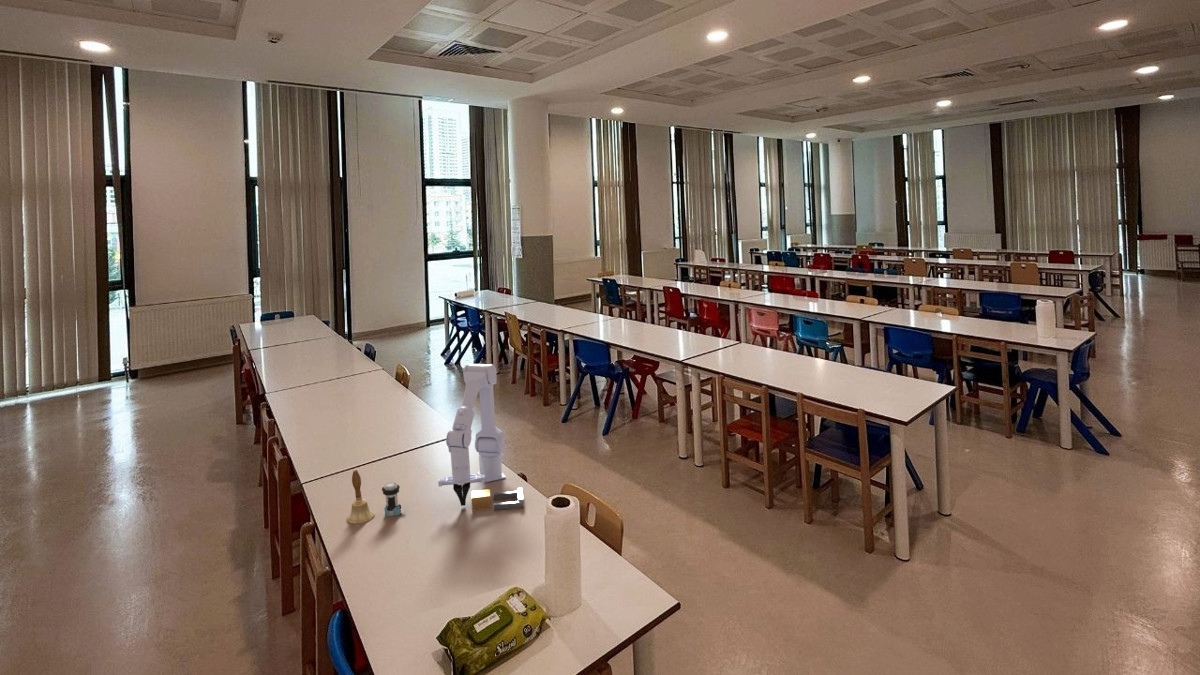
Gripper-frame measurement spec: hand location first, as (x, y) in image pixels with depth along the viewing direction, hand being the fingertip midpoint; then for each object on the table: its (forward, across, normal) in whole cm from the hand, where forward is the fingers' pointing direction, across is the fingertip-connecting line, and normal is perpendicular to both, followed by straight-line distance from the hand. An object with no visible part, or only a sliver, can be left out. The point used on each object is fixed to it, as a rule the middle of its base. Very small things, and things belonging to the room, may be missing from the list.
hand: (463, 504), depth 197 cm
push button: (+1, -21, 0) cm, 21 cm away
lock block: (+1, +6, 0) cm, 6 cm away
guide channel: (+1, +14, 0) cm, 14 cm away
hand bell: (+1, -32, 0) cm, 32 cm away
